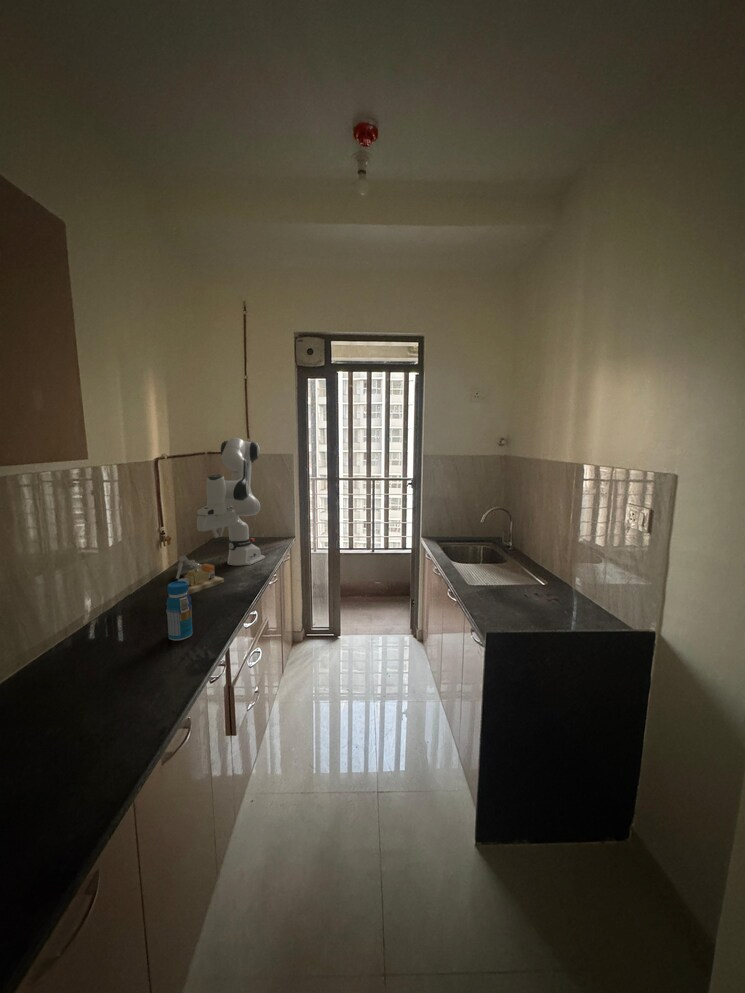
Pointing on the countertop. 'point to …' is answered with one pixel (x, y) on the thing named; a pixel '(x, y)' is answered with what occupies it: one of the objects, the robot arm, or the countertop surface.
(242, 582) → the countertop surface
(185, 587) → the beverage bottle
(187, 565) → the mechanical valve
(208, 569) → the valve lever
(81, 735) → the countertop surface
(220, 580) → the valve board
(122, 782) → the countertop surface
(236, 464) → the robot arm
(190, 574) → the pipe and valve body
